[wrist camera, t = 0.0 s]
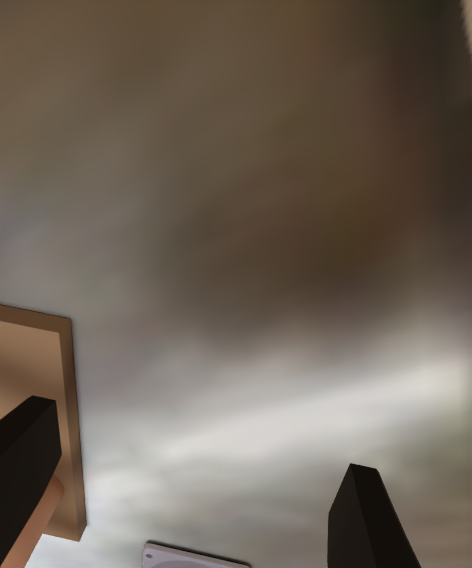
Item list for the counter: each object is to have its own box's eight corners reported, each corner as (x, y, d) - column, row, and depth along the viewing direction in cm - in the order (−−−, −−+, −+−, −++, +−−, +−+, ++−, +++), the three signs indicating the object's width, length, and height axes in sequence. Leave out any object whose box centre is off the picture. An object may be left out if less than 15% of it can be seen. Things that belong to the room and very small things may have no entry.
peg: (65, 505, 29) (2, 629, 23) (14, 494, 29) (-62, 613, 23) (61, 472, 27) (-9, 597, 21) (7, 459, 27) (-78, 580, 21)
